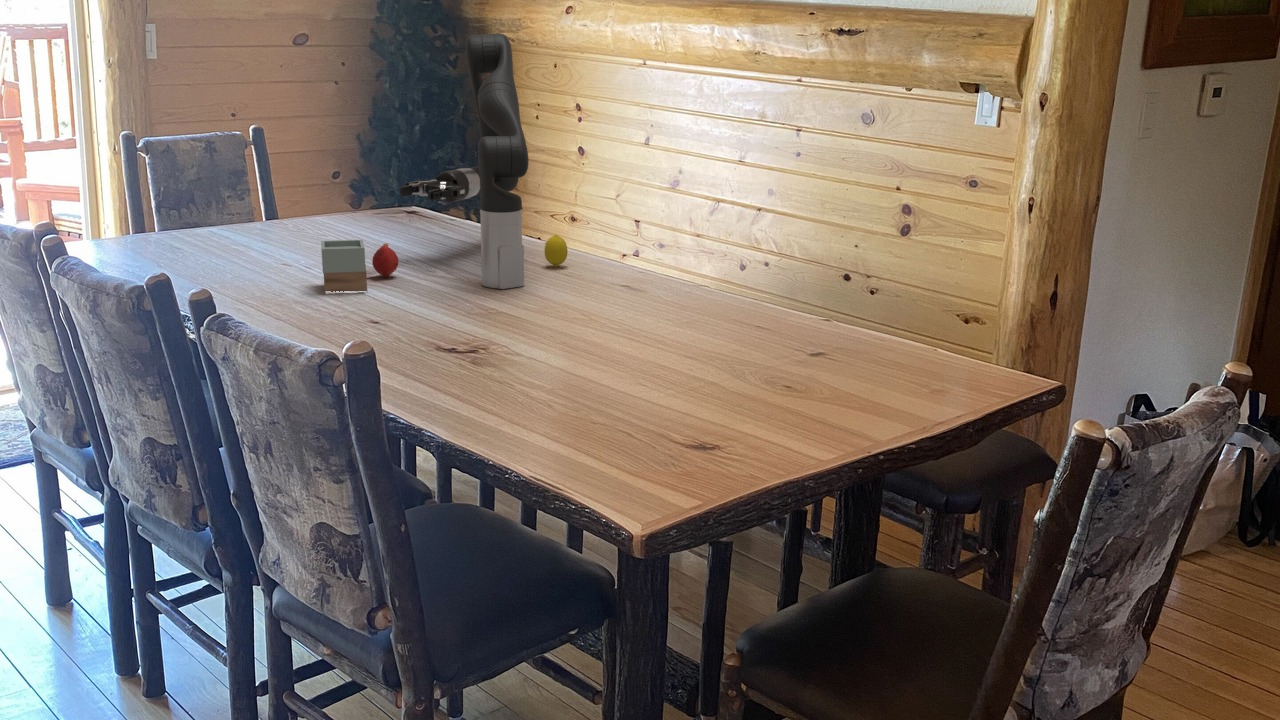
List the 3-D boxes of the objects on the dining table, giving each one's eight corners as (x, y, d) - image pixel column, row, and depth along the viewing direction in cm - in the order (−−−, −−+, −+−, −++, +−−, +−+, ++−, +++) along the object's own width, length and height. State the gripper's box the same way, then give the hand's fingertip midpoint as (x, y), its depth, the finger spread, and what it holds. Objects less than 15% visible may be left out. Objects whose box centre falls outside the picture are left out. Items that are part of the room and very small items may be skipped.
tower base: (367, 293, 254) (366, 271, 253) (324, 295, 252) (323, 272, 251) (366, 284, 263) (365, 262, 261) (325, 285, 260) (323, 263, 259)
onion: (384, 281, 264) (383, 247, 262) (367, 277, 268) (366, 243, 265) (404, 277, 269) (402, 243, 266) (387, 273, 272) (385, 239, 270)
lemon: (569, 265, 284) (569, 233, 282) (565, 270, 279) (565, 237, 277) (546, 264, 285) (546, 232, 283) (542, 269, 280) (542, 236, 277)
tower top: (365, 271, 253) (364, 247, 251) (322, 273, 250) (321, 249, 249) (363, 262, 261) (362, 239, 260) (322, 263, 259) (321, 240, 257)
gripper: (435, 166, 288) (390, 174, 274) (481, 172, 281) (438, 181, 268) (435, 196, 290) (392, 206, 277) (481, 203, 283) (439, 213, 270)
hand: (414, 194), depth 272 cm, fingers open, 8 cm apart
